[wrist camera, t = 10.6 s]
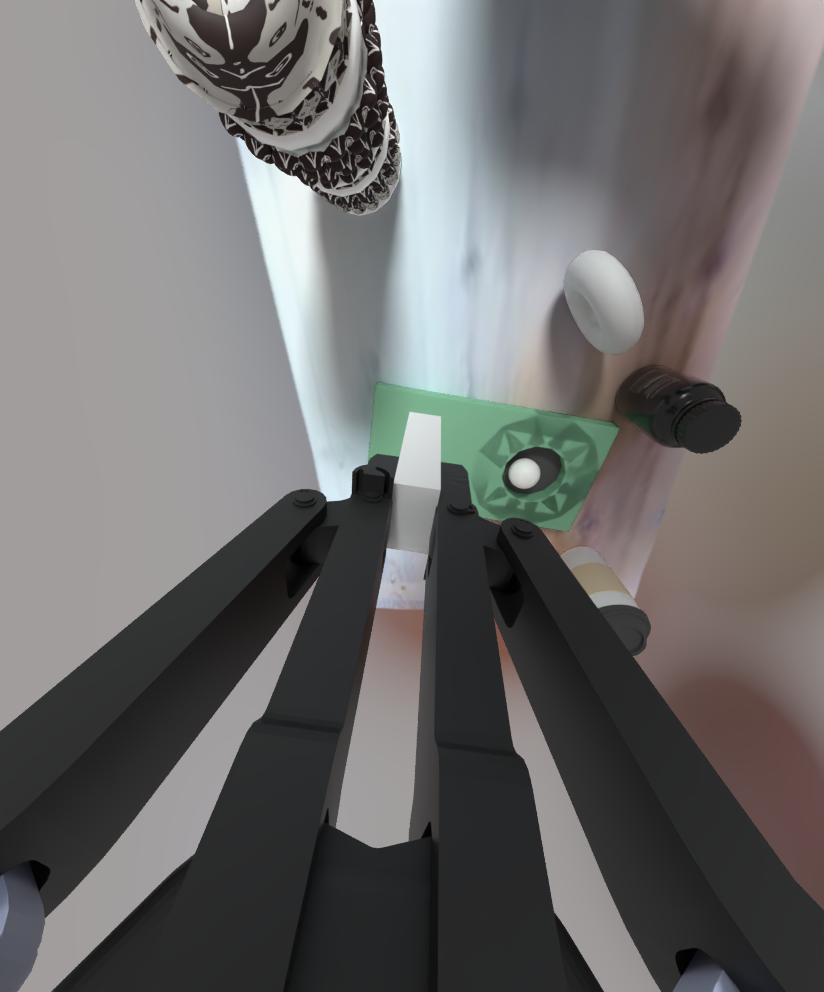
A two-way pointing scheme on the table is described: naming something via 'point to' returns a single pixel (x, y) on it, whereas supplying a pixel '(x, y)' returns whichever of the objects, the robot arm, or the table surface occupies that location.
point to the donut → (604, 301)
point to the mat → (502, 450)
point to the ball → (524, 473)
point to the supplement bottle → (677, 409)
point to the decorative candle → (291, 87)
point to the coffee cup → (609, 596)
